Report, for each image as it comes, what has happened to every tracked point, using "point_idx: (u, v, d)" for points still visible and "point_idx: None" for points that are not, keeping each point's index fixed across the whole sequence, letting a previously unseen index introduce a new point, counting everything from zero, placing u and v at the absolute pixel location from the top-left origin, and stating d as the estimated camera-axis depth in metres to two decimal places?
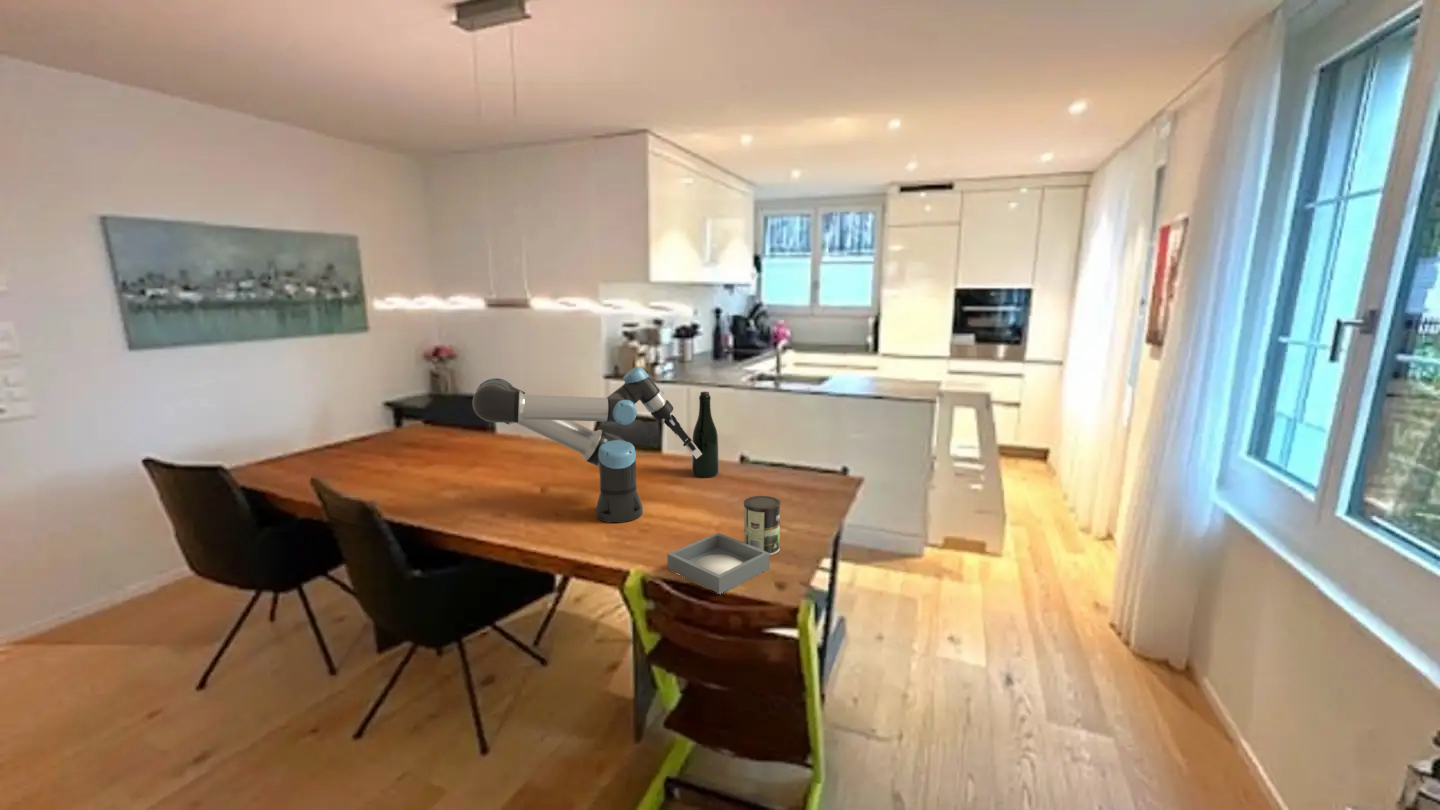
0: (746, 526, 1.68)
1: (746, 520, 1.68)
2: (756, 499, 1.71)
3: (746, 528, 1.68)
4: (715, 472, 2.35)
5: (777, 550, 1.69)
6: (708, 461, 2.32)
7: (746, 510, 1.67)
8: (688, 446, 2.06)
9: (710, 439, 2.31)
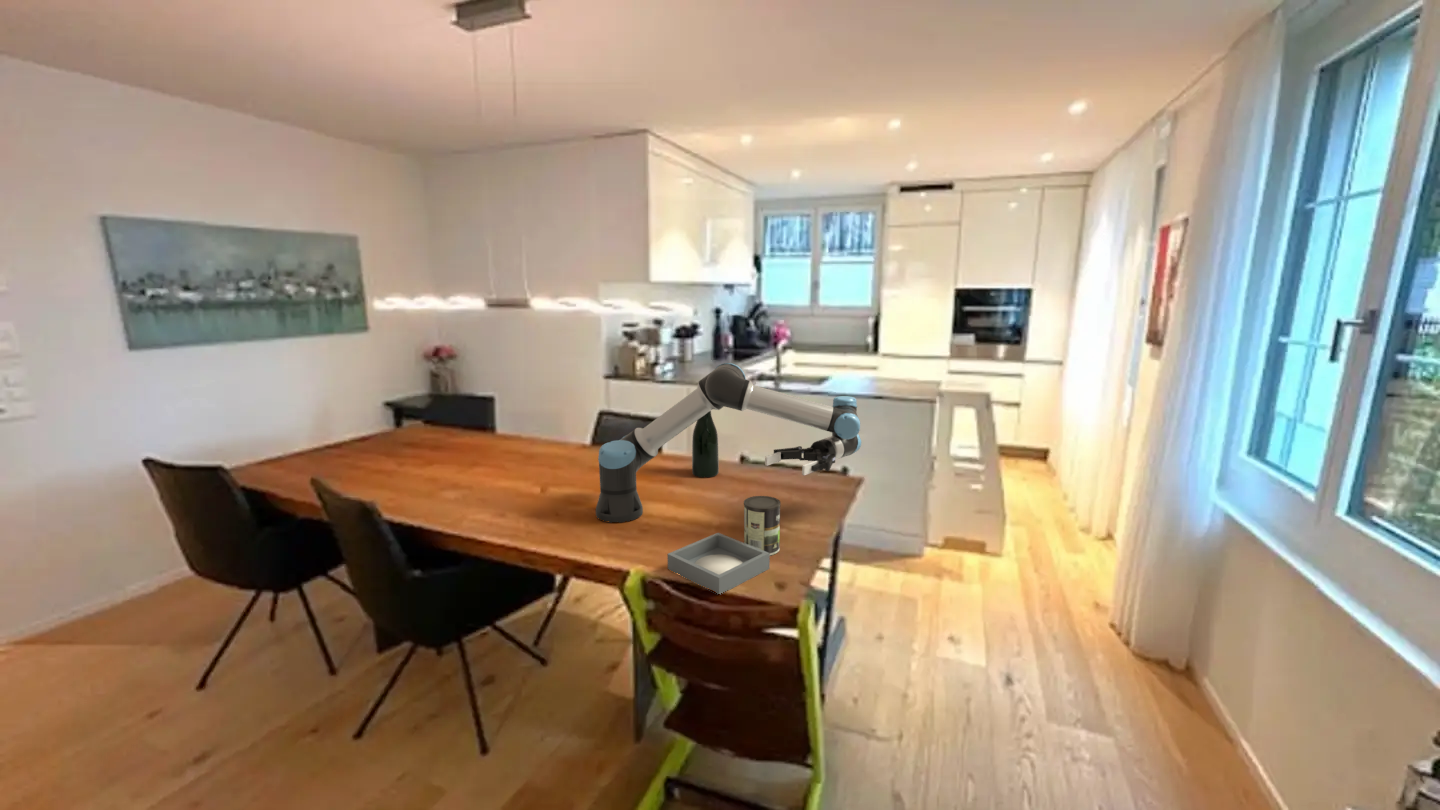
0: (746, 526, 1.68)
1: (746, 520, 1.68)
2: (756, 499, 1.71)
3: (746, 528, 1.68)
4: (715, 472, 2.35)
5: (777, 550, 1.69)
6: (708, 461, 2.32)
7: (746, 510, 1.67)
8: (815, 463, 1.73)
9: (710, 439, 2.31)
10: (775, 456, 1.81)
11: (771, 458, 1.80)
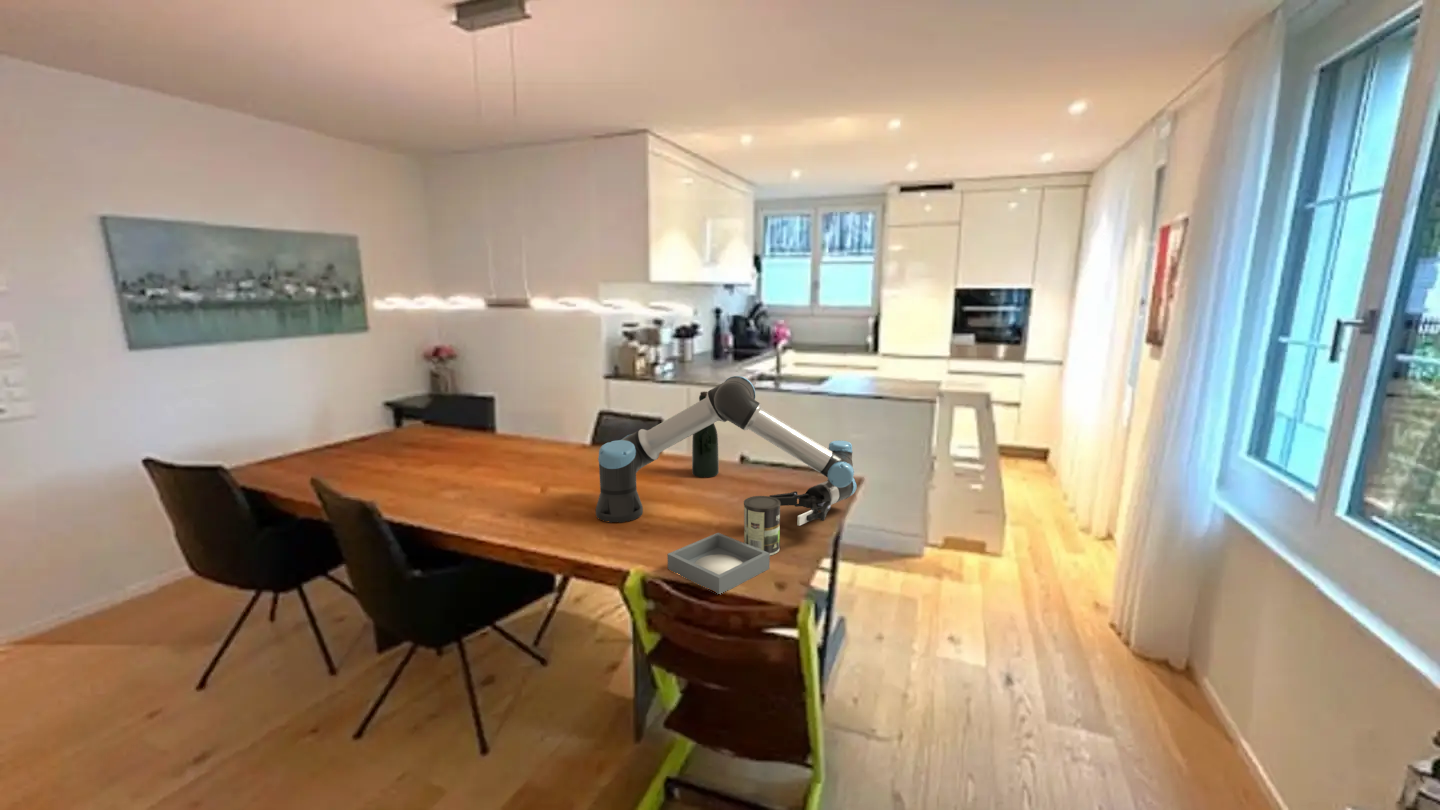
0: (746, 526, 1.68)
1: (746, 520, 1.68)
2: (756, 499, 1.71)
3: (746, 528, 1.68)
4: (715, 472, 2.35)
5: (777, 550, 1.69)
6: (708, 461, 2.32)
7: (746, 510, 1.67)
8: (811, 513, 1.74)
9: (710, 439, 2.31)
10: None
11: None
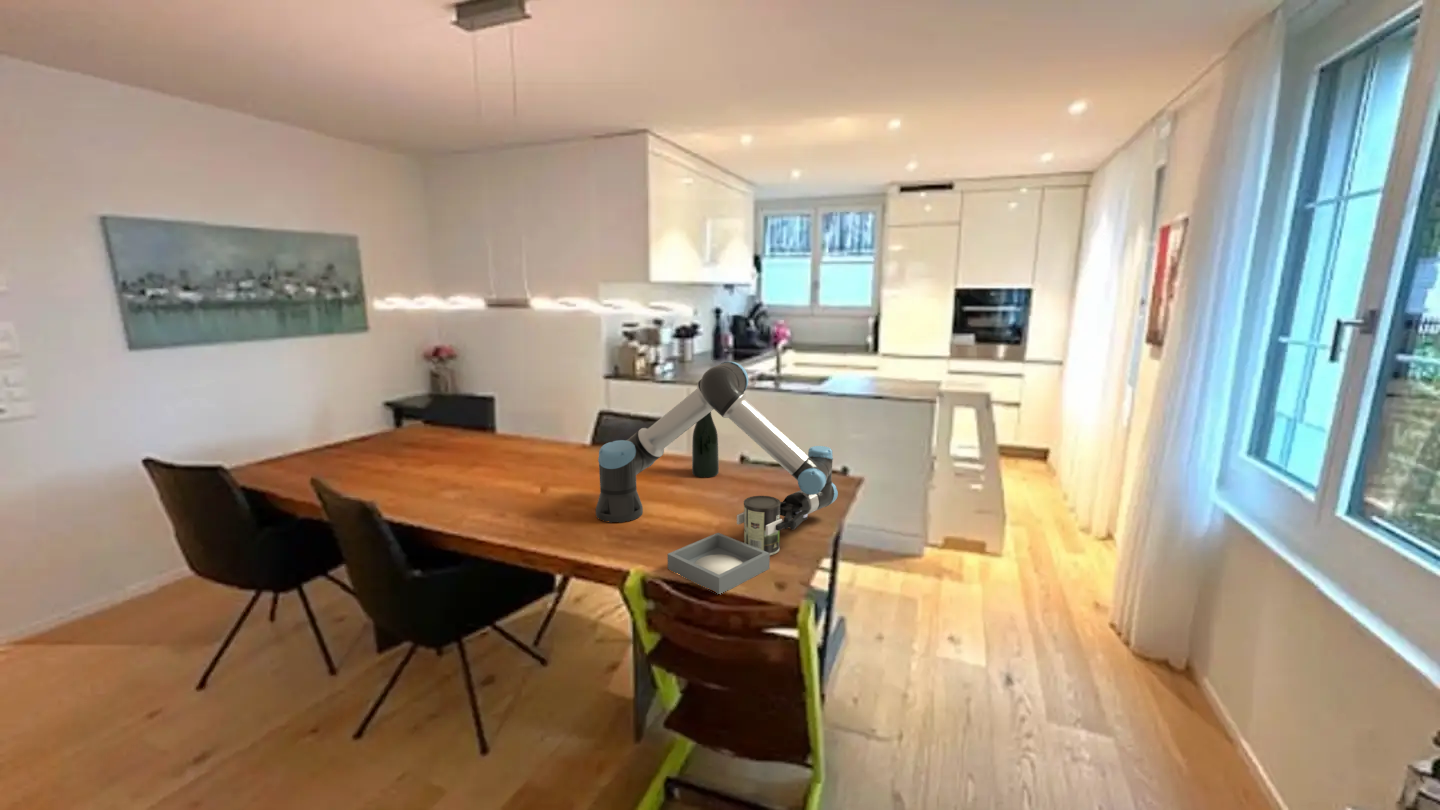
0: (746, 526, 1.68)
1: (745, 520, 1.68)
2: (755, 499, 1.72)
3: (746, 528, 1.68)
4: (715, 472, 2.35)
5: (777, 550, 1.69)
6: (708, 461, 2.32)
7: (746, 510, 1.67)
8: (780, 522, 1.67)
9: (710, 439, 2.31)
10: None
11: (743, 516, 1.72)
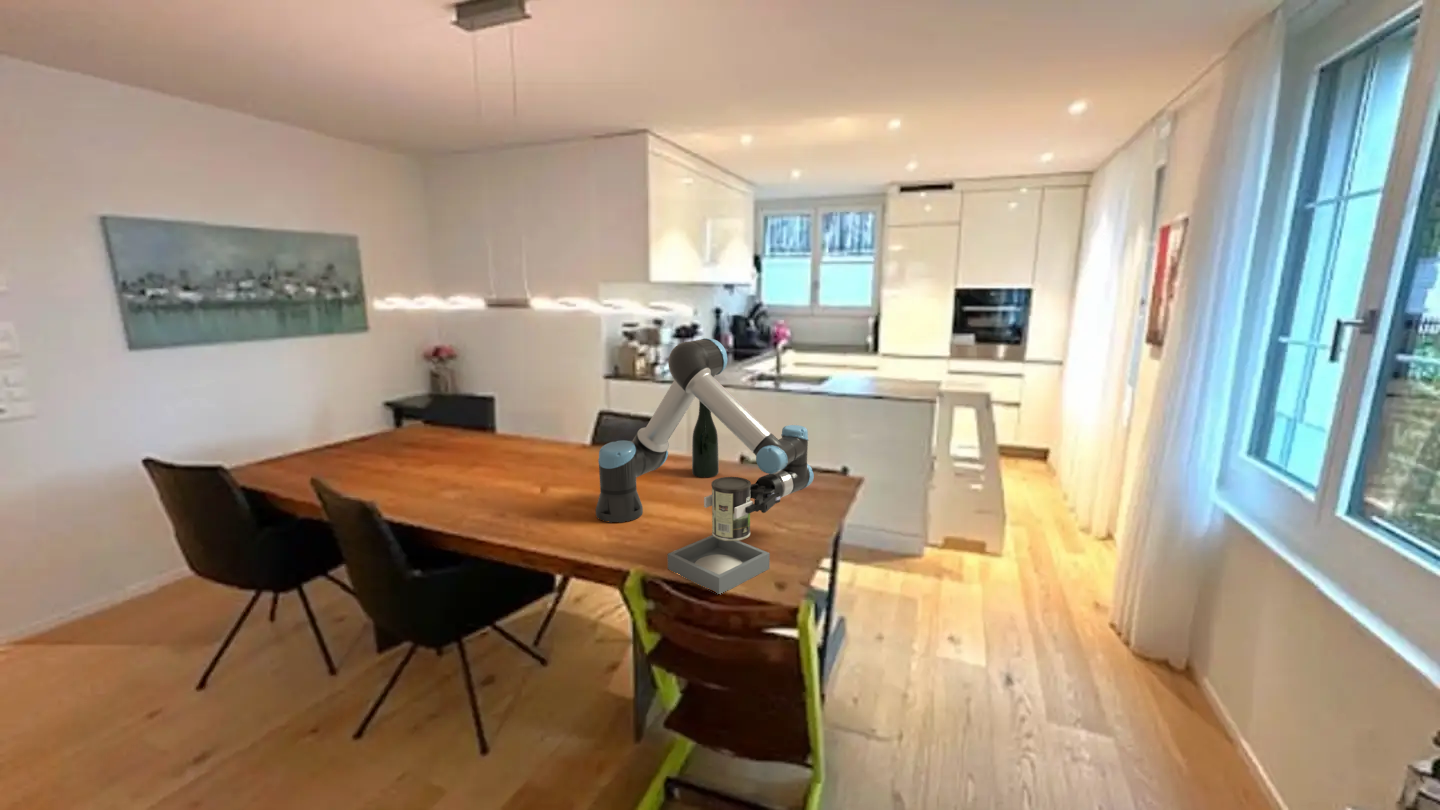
0: (714, 509, 1.56)
1: (713, 502, 1.56)
2: (724, 480, 1.59)
3: (714, 511, 1.56)
4: (715, 472, 2.35)
5: (747, 535, 1.57)
6: (708, 461, 2.32)
7: (714, 491, 1.55)
8: (750, 504, 1.55)
9: (710, 439, 2.31)
10: None
11: (711, 499, 1.60)
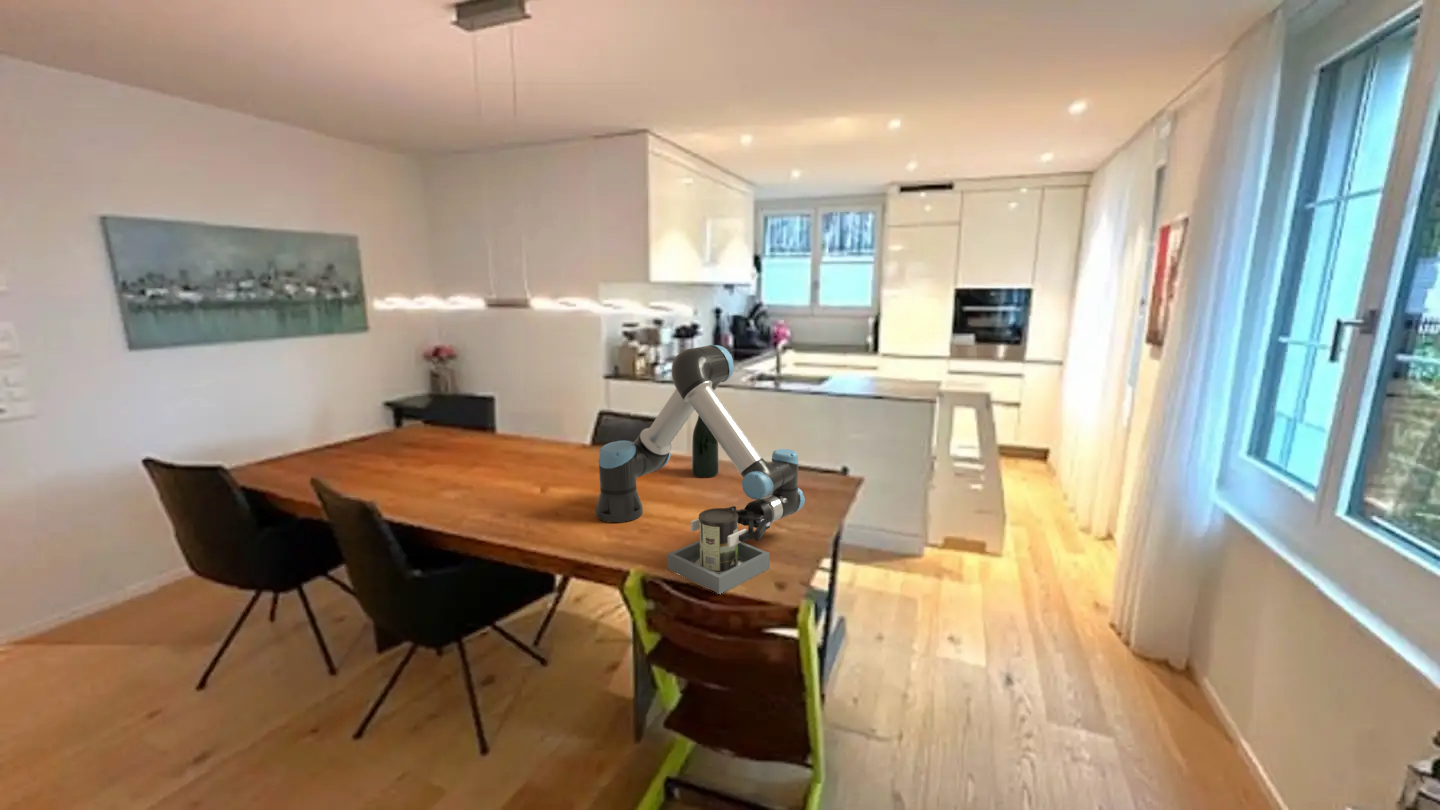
0: (701, 541, 1.56)
1: (700, 535, 1.55)
2: (712, 512, 1.59)
3: (701, 544, 1.56)
4: (715, 472, 2.35)
5: None
6: (708, 461, 2.32)
7: (701, 524, 1.55)
8: (744, 532, 1.54)
9: (710, 439, 2.31)
10: None
11: (698, 523, 1.61)
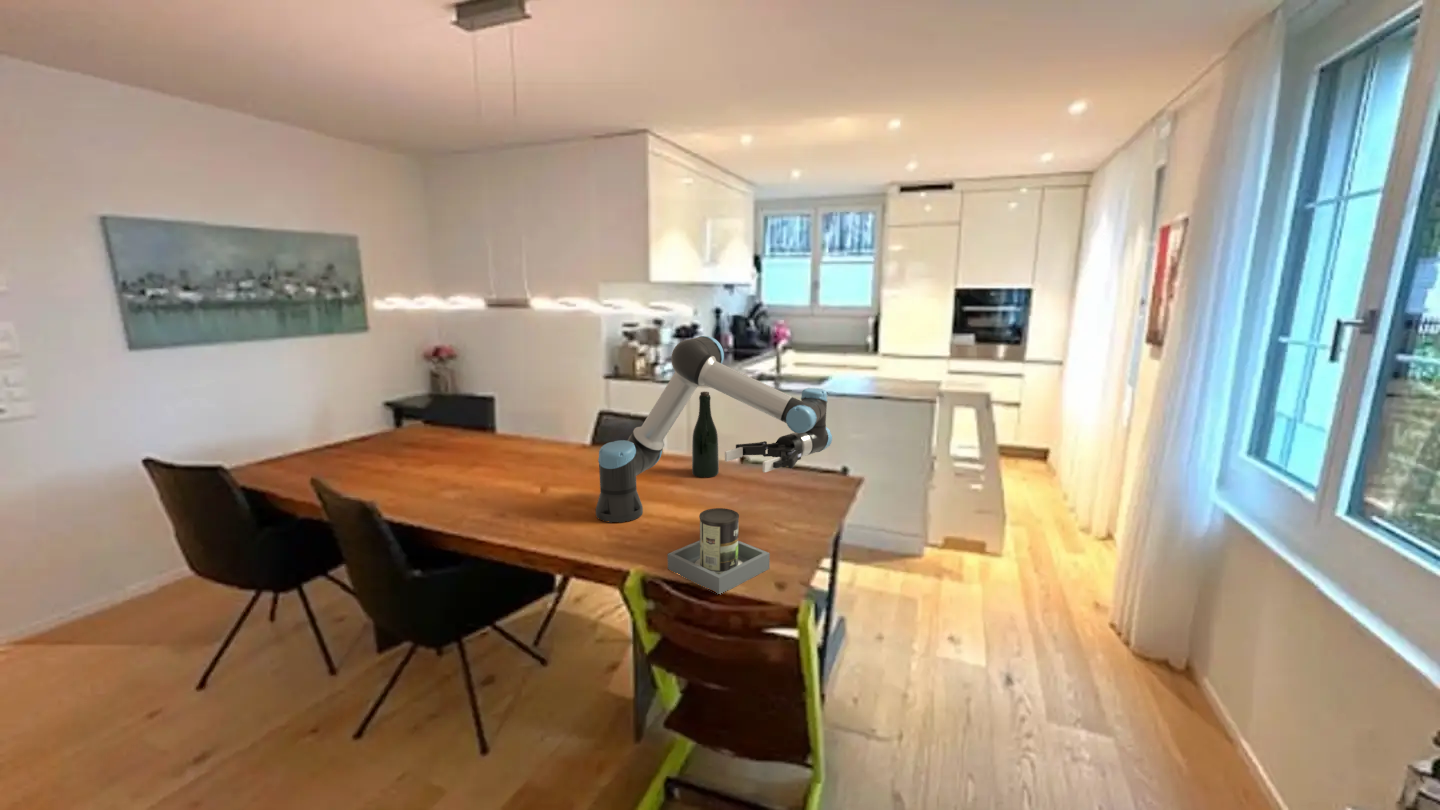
0: (701, 541, 1.56)
1: (701, 534, 1.55)
2: (713, 512, 1.59)
3: (701, 543, 1.56)
4: (715, 472, 2.35)
5: None
6: (708, 461, 2.32)
7: (701, 524, 1.55)
8: (778, 460, 1.60)
9: (710, 439, 2.31)
10: (736, 451, 1.68)
11: (731, 453, 1.67)
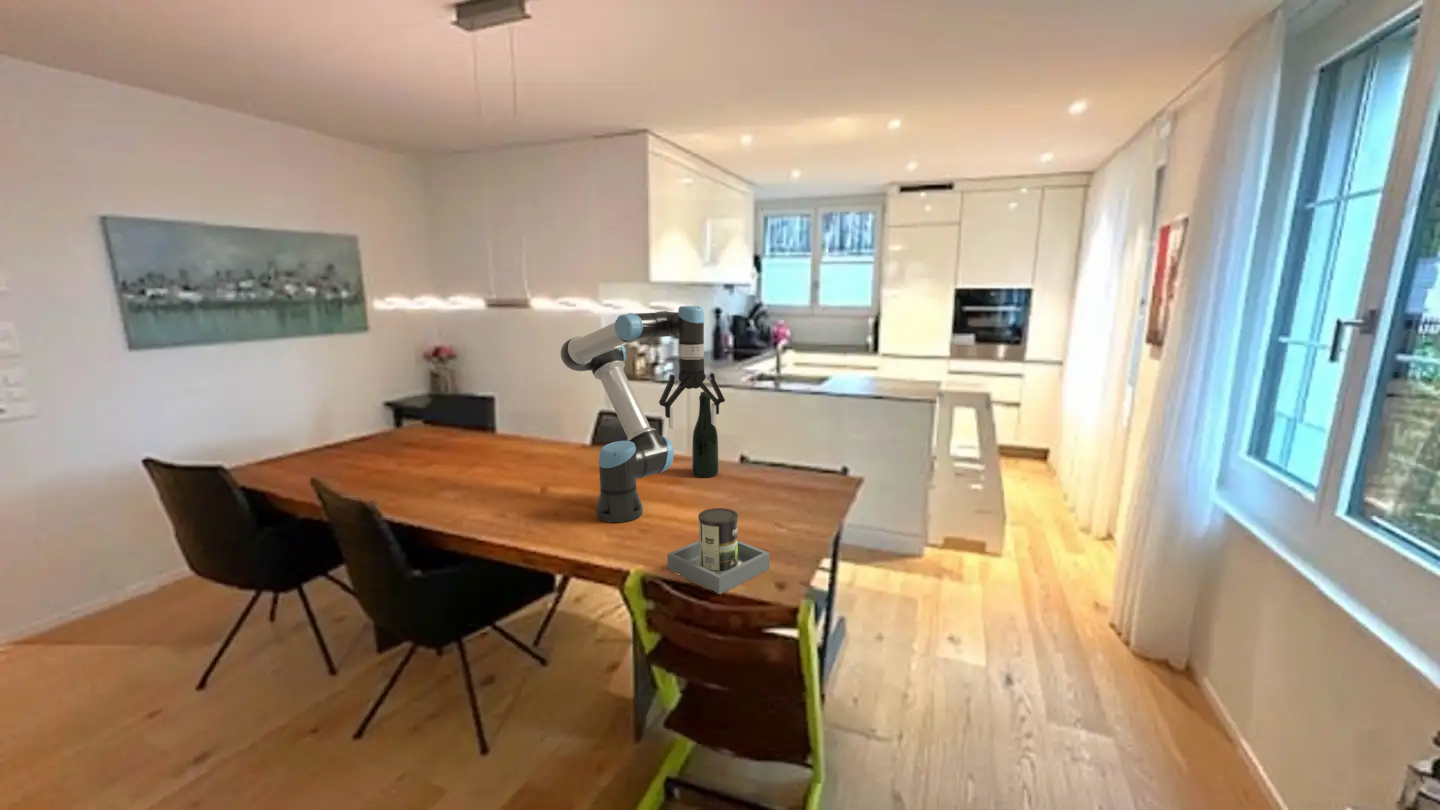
0: (701, 541, 1.56)
1: (700, 534, 1.56)
2: (712, 512, 1.59)
3: (701, 543, 1.56)
4: (715, 472, 2.35)
5: None
6: (708, 461, 2.32)
7: (700, 524, 1.55)
8: None
9: (710, 439, 2.31)
10: (711, 412, 1.88)
11: (712, 418, 1.88)
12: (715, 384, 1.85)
